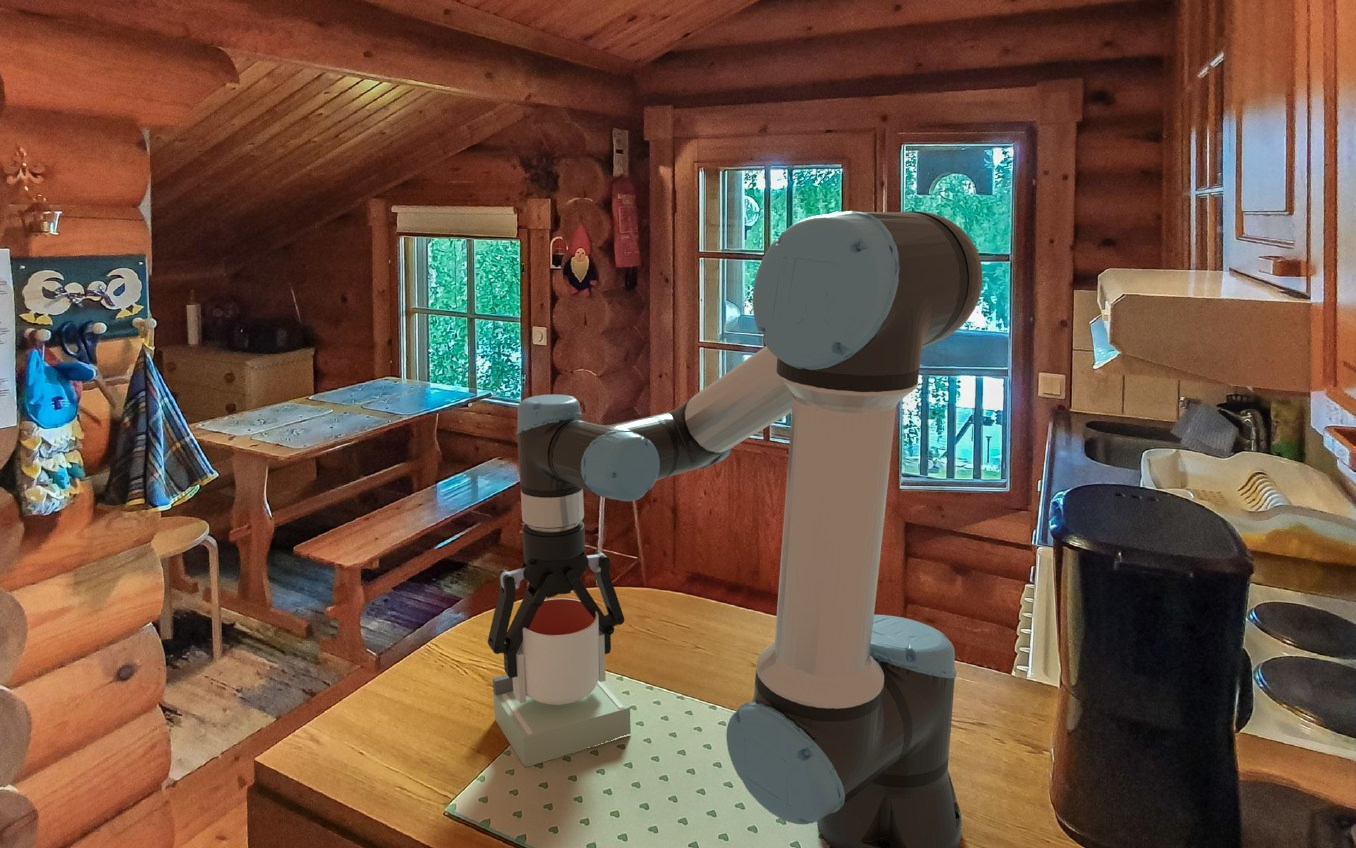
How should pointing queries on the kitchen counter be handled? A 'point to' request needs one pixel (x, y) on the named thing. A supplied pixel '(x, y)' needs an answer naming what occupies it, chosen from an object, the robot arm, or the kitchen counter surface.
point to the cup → (561, 652)
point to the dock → (558, 722)
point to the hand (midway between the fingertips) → (560, 687)
